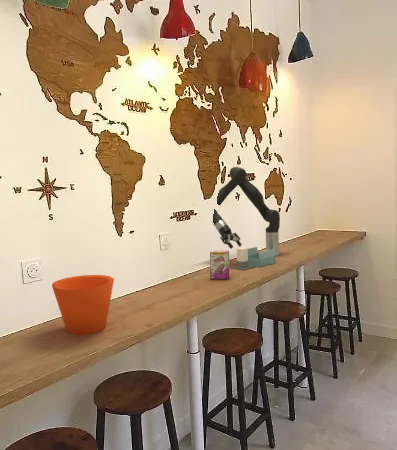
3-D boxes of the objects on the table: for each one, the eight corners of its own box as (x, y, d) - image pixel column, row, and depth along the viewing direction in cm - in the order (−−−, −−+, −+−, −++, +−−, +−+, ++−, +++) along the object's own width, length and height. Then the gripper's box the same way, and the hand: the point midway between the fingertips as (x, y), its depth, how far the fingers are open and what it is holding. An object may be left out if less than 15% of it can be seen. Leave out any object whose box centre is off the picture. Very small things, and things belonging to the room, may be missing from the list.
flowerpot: (68, 343, 176) (64, 293, 174) (47, 327, 196) (43, 281, 194) (127, 328, 190) (124, 281, 188) (101, 314, 211) (99, 272, 208)
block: (242, 265, 302) (241, 247, 300) (248, 266, 298) (247, 248, 296) (237, 266, 298) (236, 248, 297) (243, 267, 294) (242, 249, 293)
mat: (241, 265, 306) (241, 264, 306) (255, 267, 297) (255, 266, 297) (230, 268, 298) (230, 267, 298) (244, 270, 290) (244, 269, 290)
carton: (257, 260, 320) (257, 246, 319) (275, 262, 310) (275, 248, 308) (241, 264, 309) (241, 250, 307) (259, 267, 298) (259, 252, 297)
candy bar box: (210, 279, 270) (209, 251, 268) (211, 277, 275) (210, 250, 273) (229, 279, 269) (228, 251, 267) (229, 277, 273) (229, 250, 272)
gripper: (218, 225, 300) (232, 244, 293) (232, 223, 309) (246, 241, 303) (212, 233, 304) (226, 252, 297) (227, 230, 314) (240, 248, 307)
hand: (236, 246), depth 300 cm, fingers open, 8 cm apart
